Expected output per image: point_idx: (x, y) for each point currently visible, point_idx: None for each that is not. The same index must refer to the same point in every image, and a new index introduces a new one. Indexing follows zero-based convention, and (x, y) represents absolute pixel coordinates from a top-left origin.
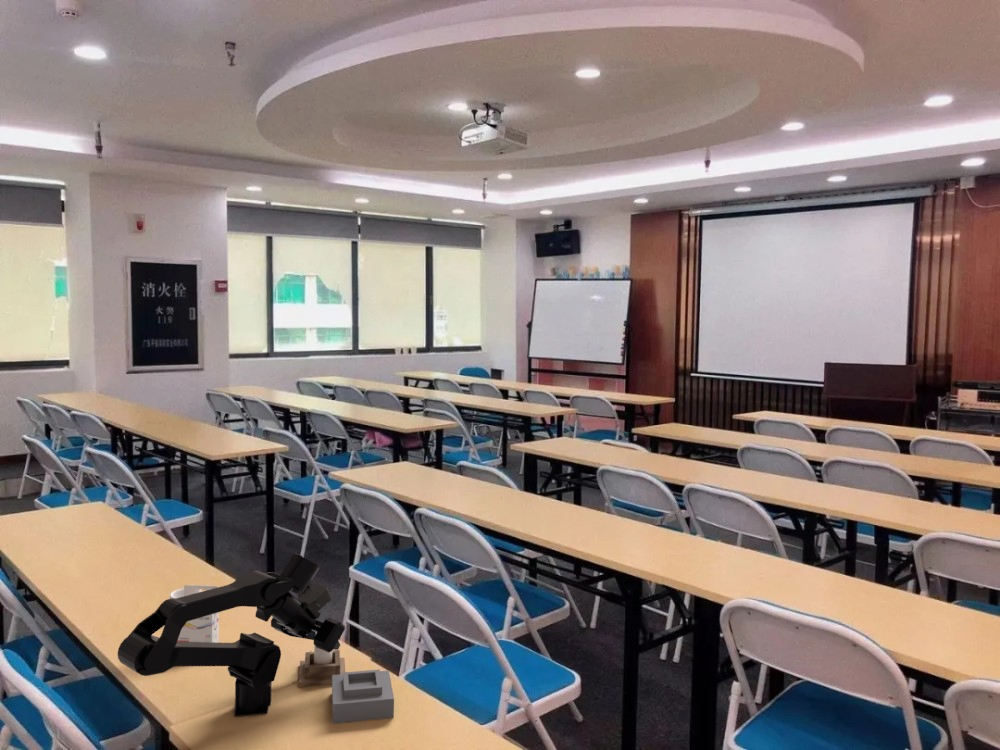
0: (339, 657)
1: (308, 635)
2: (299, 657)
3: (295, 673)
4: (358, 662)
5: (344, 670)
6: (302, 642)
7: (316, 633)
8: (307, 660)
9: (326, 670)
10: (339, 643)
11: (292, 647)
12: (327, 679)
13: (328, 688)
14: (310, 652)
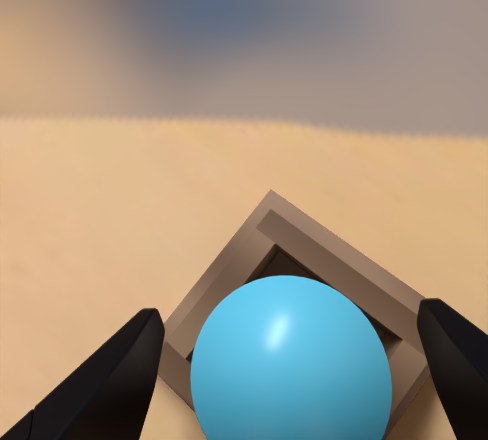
0: (350, 269)
1: (129, 425)
2: (94, 303)
3: (192, 422)
4: (323, 158)
5: (382, 272)
6: (14, 210)
7: (208, 421)
8: None
9: None
10: (468, 321)
11: (11, 265)
12: (403, 400)
13: (442, 424)
14: (172, 342)
